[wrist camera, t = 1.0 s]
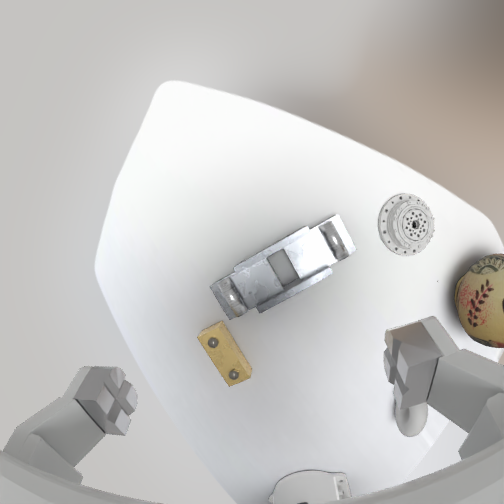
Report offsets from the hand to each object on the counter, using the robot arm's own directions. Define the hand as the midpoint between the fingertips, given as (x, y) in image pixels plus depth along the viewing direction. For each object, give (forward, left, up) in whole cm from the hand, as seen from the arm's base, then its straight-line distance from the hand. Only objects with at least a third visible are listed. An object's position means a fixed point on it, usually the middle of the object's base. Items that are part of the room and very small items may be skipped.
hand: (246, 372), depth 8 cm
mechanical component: (-7, -21, -39) cm, 45 cm away
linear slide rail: (-3, 0, -39) cm, 39 cm away
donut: (-37, -8, -39) cm, 54 cm away
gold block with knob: (-11, +15, -39) cm, 43 cm away
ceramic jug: (-24, -29, -39) cm, 54 cm away
